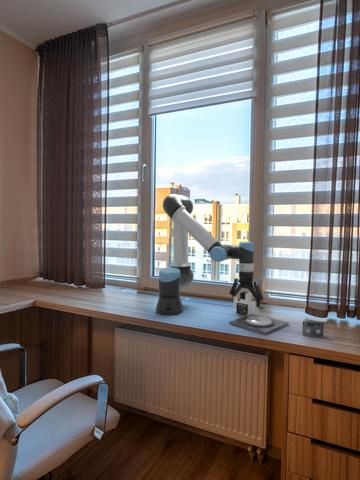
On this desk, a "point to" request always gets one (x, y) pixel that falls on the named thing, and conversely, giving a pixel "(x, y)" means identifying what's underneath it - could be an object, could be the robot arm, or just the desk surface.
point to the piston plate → (259, 324)
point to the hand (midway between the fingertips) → (245, 310)
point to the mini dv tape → (313, 328)
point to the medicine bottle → (245, 304)
